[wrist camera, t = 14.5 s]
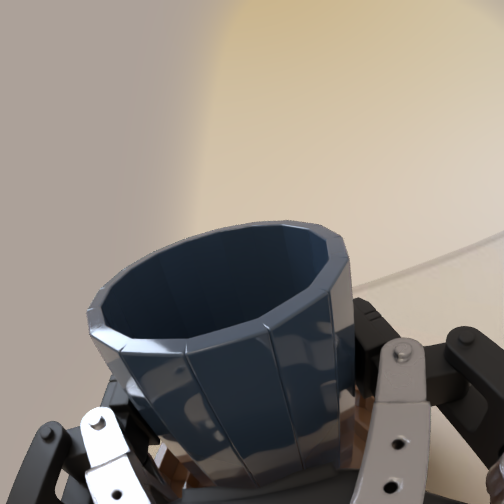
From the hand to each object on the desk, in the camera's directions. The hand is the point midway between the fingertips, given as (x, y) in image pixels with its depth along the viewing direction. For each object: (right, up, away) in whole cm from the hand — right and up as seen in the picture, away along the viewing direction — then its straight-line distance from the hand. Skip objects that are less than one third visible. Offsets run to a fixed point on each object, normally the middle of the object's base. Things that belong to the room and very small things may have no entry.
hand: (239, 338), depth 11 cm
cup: (+2, -6, 0) cm, 6 cm away
